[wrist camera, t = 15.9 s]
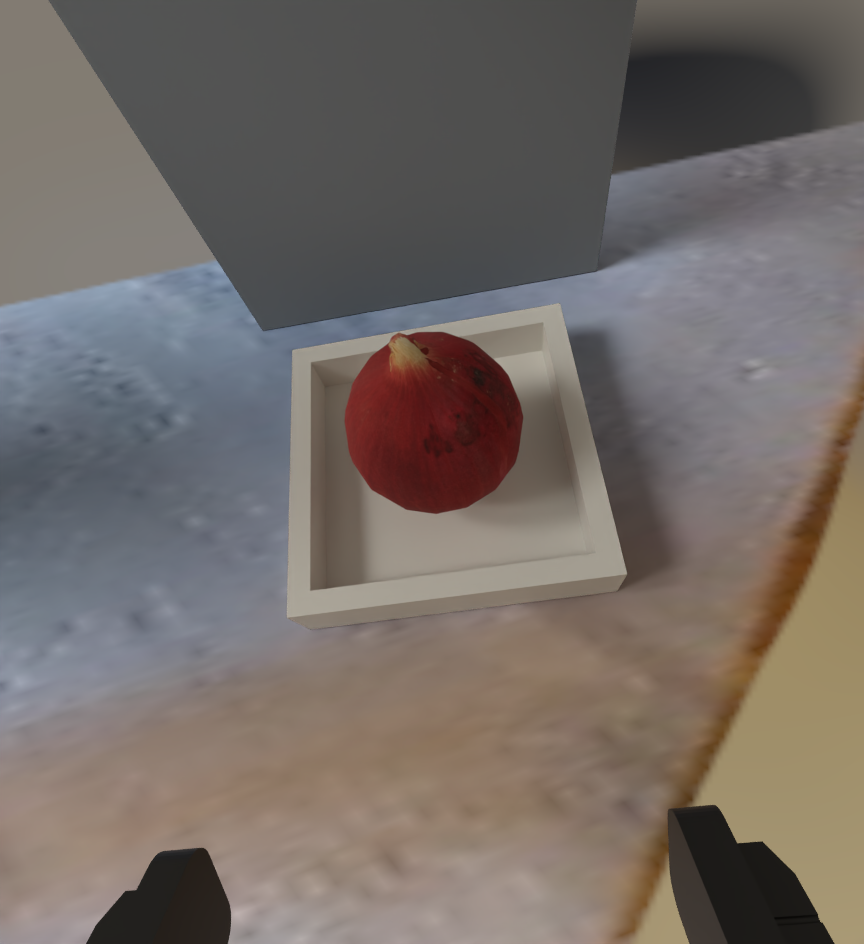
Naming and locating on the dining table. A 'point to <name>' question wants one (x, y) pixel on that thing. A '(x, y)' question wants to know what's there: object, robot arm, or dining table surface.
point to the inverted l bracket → (373, 138)
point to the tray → (459, 531)
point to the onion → (433, 422)
